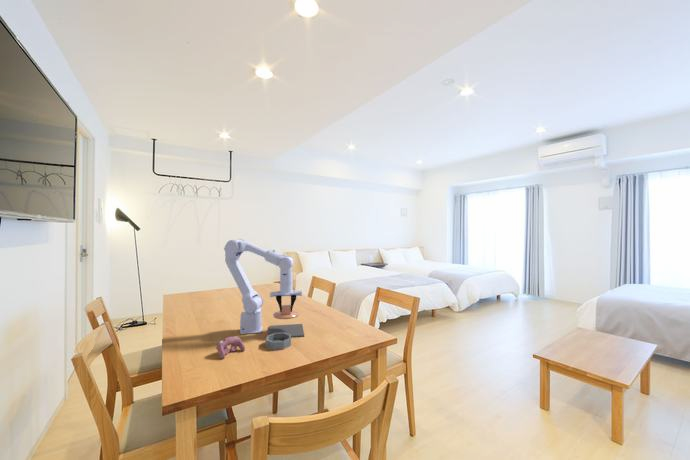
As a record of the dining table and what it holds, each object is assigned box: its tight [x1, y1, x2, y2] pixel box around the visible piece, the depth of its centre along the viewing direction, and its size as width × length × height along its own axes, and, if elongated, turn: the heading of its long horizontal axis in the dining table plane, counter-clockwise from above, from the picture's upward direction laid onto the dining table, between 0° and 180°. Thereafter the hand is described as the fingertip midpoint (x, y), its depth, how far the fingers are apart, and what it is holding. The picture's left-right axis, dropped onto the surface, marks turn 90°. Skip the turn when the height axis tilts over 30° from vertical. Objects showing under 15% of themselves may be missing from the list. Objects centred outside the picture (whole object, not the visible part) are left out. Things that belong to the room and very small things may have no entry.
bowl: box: [265, 333, 292, 351], centre depth 120 cm, size 10×10×3 cm
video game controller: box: [215, 336, 246, 360], centre depth 111 cm, size 10×5×7 cm, turn 141°
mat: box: [267, 323, 305, 338], centre depth 134 cm, size 16×15×1 cm
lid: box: [272, 304, 300, 320], centre depth 133 cm, size 12×12×4 cm
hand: (286, 311), depth 134 cm, fingers closed on lid, 4 cm apart
